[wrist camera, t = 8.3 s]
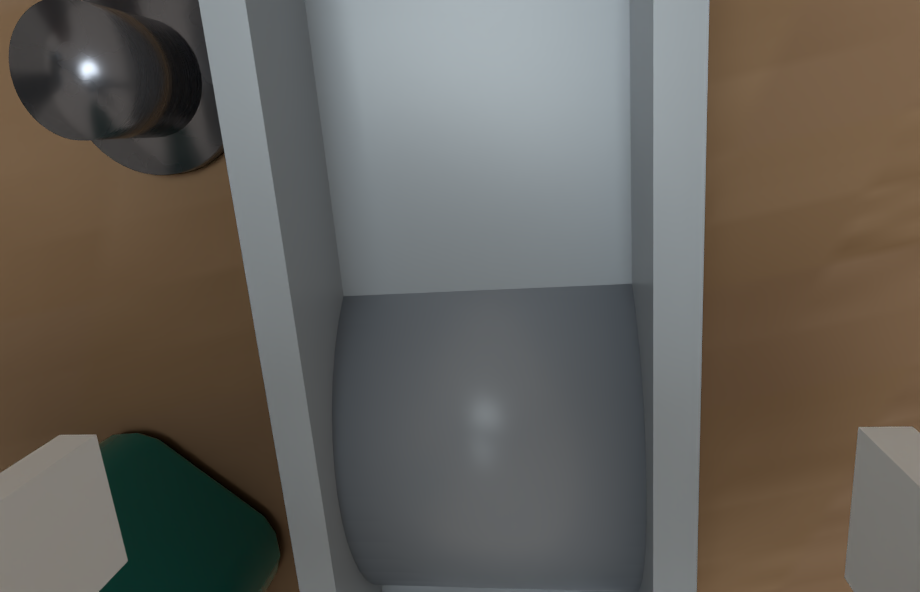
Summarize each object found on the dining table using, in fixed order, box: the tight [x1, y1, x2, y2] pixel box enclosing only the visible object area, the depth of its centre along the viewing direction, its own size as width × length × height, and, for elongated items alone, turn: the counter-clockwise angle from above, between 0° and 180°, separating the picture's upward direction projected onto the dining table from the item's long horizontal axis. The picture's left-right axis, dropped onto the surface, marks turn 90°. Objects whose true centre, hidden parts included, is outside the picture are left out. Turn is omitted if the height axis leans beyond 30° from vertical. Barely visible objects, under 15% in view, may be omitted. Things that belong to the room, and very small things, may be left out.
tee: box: [9, 0, 224, 175], centre depth 19 cm, size 6×6×4 cm
